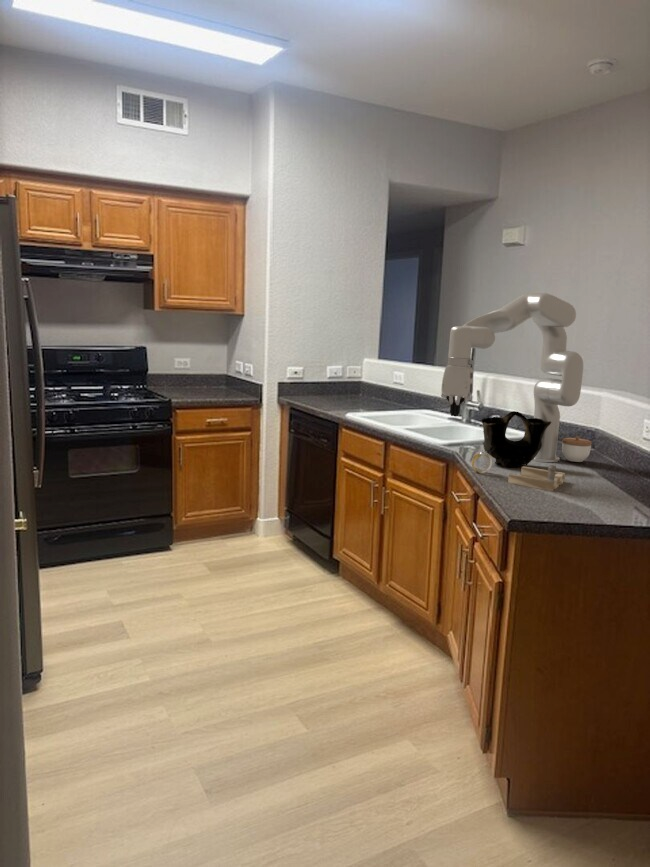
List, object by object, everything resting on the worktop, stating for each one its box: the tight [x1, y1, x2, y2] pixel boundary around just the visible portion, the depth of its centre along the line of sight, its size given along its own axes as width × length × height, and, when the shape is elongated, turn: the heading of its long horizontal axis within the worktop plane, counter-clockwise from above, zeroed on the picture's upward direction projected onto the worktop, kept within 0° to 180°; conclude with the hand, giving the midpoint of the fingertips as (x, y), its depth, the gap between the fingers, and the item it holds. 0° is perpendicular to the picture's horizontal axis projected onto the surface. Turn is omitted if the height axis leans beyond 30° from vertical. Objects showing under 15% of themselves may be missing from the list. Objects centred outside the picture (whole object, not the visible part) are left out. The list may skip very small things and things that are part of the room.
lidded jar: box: [561, 435, 593, 463], centre depth 250 cm, size 11×11×9 cm
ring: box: [470, 449, 493, 474], centre depth 223 cm, size 7×3×8 cm, turn 89°
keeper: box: [507, 464, 566, 492], centre depth 212 cm, size 18×14×8 cm
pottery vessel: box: [480, 411, 551, 468], centre depth 236 cm, size 25×11×20 cm, turn 91°
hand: (454, 415), depth 226 cm, fingers closed
